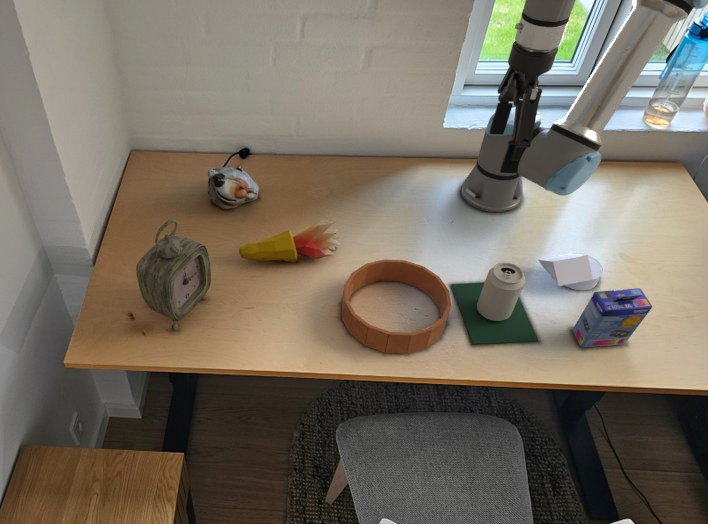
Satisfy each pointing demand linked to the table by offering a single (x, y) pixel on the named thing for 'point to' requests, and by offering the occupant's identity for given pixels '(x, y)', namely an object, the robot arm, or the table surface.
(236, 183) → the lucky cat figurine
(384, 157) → the table surface
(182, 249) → the tabletop clock
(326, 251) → the torch
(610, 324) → the ink cartridge box
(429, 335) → the brown wooden ring
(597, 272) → the wedge on round base
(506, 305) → the can
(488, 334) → the felt mat
